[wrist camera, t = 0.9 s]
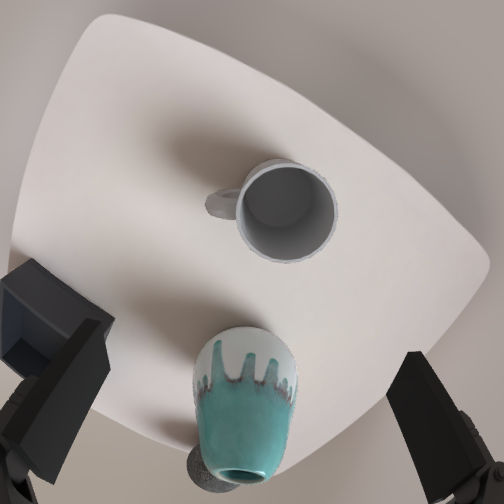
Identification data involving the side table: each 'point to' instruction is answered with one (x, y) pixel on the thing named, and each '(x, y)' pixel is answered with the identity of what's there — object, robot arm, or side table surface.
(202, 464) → the decorative ball
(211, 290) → the side table surface
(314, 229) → the cup
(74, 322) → the open box
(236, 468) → the vase
